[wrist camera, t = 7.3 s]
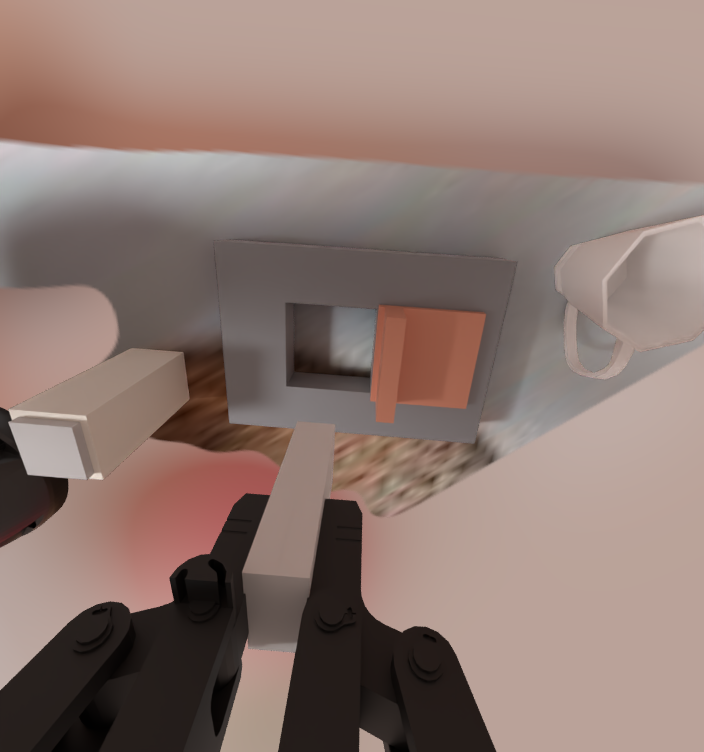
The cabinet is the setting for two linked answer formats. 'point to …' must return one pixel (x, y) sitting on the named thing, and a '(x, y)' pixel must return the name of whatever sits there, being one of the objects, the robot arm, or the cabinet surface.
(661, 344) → the cup
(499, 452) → the cabinet surface
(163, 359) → the plug
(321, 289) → the socket
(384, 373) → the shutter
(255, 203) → the cabinet surface
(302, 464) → the robot arm
